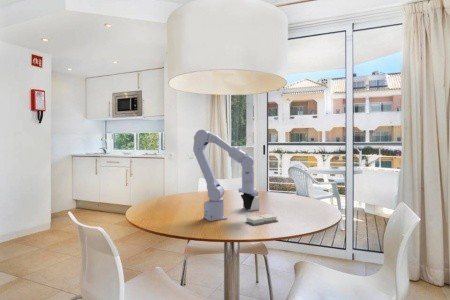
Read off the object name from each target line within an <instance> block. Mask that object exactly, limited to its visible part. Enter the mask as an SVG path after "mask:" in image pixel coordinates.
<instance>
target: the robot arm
mask: <svg viewBox="0 0 450 300" xmlns="http://www.w3.org/2000/svg"><path fill="white" fill-rule="evenodd" d="M193 140H194V141H193V149H192V150H193V151H192V152H193V153H194V156H195V158H196V161H197V163H198V165H199V167H200V170H201V173H202V176H203V178H204V180H205V182H206V183H205V184H206V189H207V196H208V200H207V201H204V202H203V217H202V218H203V219H205V220H207V221H209V222H214V221H218V220H226V219H228V217H227V216H224V215H225V213H224V211H225V210H224V209H225V207H224V203H225V202H224V200H225V199H224V197H223V196H224V195H225V189H224V187H223V186H222V185H221V183H220V182H219V180H218V179H217V177H216V176H215V173H214V170H213V167H212V166H211V163H210V161H209V158H208V156H207V154H206V148H207V146H208V145H209V144H215V145H217V146H218V147H219V148H220V149H223V150H224V151H226V152H227V153H228V154H227V155H228V157H229V158H231V159H232V160H234V161H235V162H237V163H238V164H240V166H241V167H242V168H241V188H240V187H239V188H238V193H241V195H240V197H241V199H242V201H244V205H245V209H244V210H246V211H248V210H250V209H251V205H252V202H253V199H254V198H255V197H257V196H258V197H259V191H257V192H256V190H254V188H255V182H254V181H255V171H254V170H255V169H254V165H255V159H254V157H252V156H251V155H249V154H248V152H245V151H243V150H242V149H241V147H239V146H231V144H229V143H227V141H225V140H224V139H222V138H221V137H220V136H219V135H217V134H216V133H213V132H211V131H210V130H208V129H207V130H205V129H199V130H197V131H196V132H195V134H194V136H193ZM250 211H251V210H250Z"/></svg>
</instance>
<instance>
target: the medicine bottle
mask: <svg viewBox="0 0 450 300" xmlns="http://www.w3.org/2000/svg"><path fill="white" fill-rule="evenodd" d="M254 190H256V192H258V190H257V187H254ZM260 200H261V198H260V196H259V195H258V196H257V197H255V198H254V199H253V202H252V205H251V209H250V210H247V211H249V212H250V211H259V210H260V209H261V208H260V207H261V206H260V205H261V201H260ZM242 201H243V200H242ZM242 204H243V205H242V206H243V209H244V210H246V209H245V205H244V201H243V202H242Z"/></svg>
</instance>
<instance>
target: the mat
mask: <svg viewBox="0 0 450 300" xmlns="http://www.w3.org/2000/svg"><path fill="white" fill-rule="evenodd" d="M277 222H279V220H278V219H277V220H273V221H267V222H266V221H265V222H262V223H256V224H253V223H250V222H248V221H245V223H246V224H248V225H250V226H253V227H256V226H261V225H265V224H267V225H268V224H272V223H277Z"/></svg>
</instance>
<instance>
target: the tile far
mask: <svg viewBox="0 0 450 300" xmlns="http://www.w3.org/2000/svg"><path fill="white" fill-rule="evenodd" d="M258 216H259V217H262V218H264V220H265V221H266V222H267V221H273V220H278V219H277V216H276V215H273V214H270V213H267V214H259V215H258Z"/></svg>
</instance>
